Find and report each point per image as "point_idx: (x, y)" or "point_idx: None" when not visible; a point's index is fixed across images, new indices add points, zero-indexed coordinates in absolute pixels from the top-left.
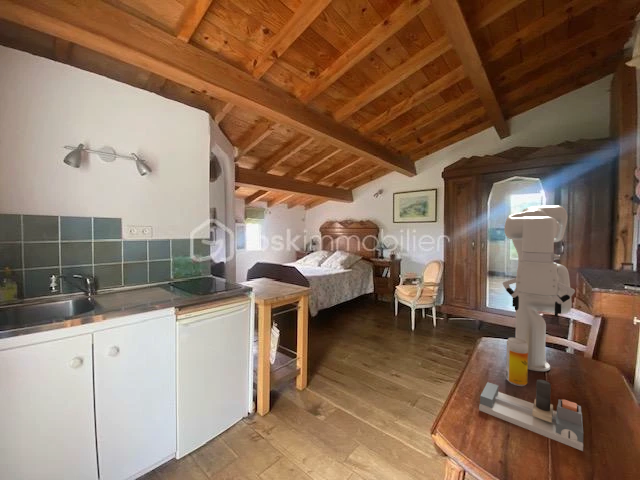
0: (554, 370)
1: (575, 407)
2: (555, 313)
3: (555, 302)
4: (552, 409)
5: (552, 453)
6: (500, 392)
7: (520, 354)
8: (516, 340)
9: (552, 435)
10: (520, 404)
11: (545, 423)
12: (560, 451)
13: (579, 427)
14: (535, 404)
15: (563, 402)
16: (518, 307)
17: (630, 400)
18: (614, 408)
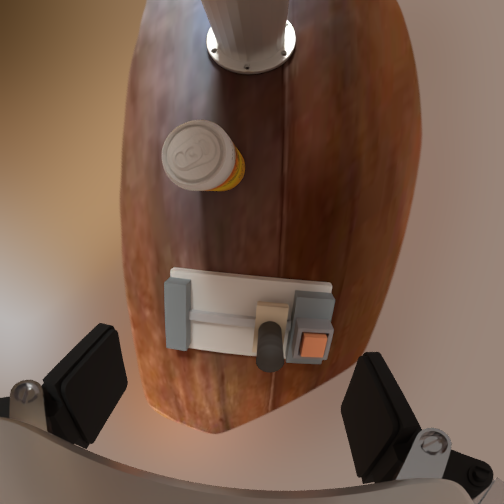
0: (304, 43)
1: (321, 355)
2: (348, 422)
3: (381, 452)
4: (285, 327)
5: (276, 381)
6: (194, 273)
7: (213, 188)
8: (190, 153)
9: None
10: (233, 299)
11: None
12: (286, 372)
13: None
14: (257, 328)
15: (304, 349)
16: (115, 343)
17: (419, 117)
18: (394, 170)
